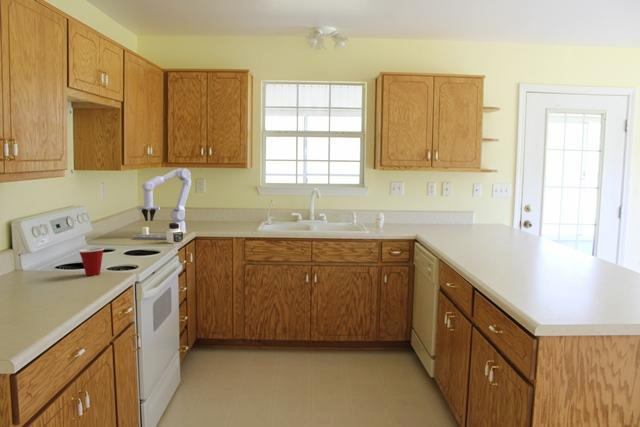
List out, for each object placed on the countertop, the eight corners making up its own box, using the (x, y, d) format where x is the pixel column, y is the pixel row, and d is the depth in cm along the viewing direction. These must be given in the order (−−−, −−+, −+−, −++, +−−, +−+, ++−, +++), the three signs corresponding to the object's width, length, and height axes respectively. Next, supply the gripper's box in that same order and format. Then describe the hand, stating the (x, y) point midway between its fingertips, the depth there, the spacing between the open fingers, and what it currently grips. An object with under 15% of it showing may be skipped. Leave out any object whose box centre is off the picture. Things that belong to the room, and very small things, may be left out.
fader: (144, 234, 331) (144, 226, 330) (148, 234, 330) (148, 226, 330) (142, 235, 328) (141, 227, 327) (146, 235, 327) (146, 227, 327)
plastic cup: (97, 270, 239) (96, 245, 238) (110, 274, 233) (109, 248, 231) (74, 275, 230) (73, 249, 229) (87, 278, 224) (86, 251, 223)
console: (142, 235, 337) (142, 231, 336) (175, 236, 334) (175, 232, 334) (133, 239, 323) (133, 235, 322) (166, 240, 321) (166, 236, 320)
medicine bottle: (173, 243, 308) (173, 224, 306) (166, 242, 312) (165, 223, 311) (183, 242, 314) (182, 222, 312) (176, 240, 318) (175, 221, 316)
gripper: (134, 200, 327) (135, 221, 328) (156, 200, 325) (157, 221, 327) (139, 199, 334) (140, 219, 335) (161, 199, 332) (161, 220, 334)
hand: (149, 220), depth 332 cm, fingers open, 3 cm apart
